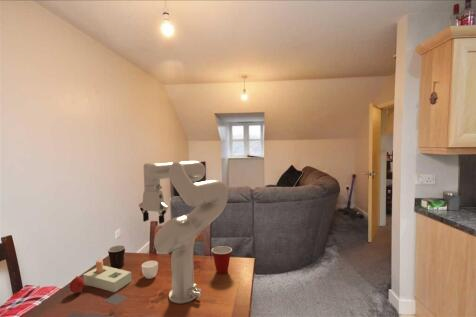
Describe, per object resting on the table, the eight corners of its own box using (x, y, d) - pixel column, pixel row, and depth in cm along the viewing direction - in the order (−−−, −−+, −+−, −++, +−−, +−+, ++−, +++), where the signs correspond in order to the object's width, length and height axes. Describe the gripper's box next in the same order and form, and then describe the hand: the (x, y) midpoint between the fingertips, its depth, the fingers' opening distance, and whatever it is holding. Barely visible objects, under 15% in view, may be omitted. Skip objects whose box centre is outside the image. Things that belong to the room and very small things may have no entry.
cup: (139, 281, 125) (139, 267, 125) (147, 270, 135) (146, 258, 135) (155, 281, 125) (154, 267, 125) (161, 270, 135) (161, 258, 135)
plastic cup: (234, 266, 138) (233, 245, 137) (230, 277, 127) (230, 254, 127) (214, 265, 140) (214, 244, 139) (209, 275, 129) (208, 252, 128)
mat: (128, 298, 112) (128, 297, 112) (117, 306, 106) (116, 305, 106) (114, 294, 115) (114, 293, 115) (103, 301, 109) (103, 301, 109)
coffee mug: (113, 262, 145) (113, 245, 144) (128, 262, 145) (128, 245, 144) (102, 273, 134) (101, 254, 133) (118, 273, 133) (117, 254, 133)
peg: (105, 280, 126) (104, 260, 126) (99, 283, 124) (98, 263, 123) (100, 279, 128) (99, 259, 127) (95, 282, 125) (94, 262, 124)
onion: (68, 298, 112) (66, 280, 112) (72, 290, 118) (71, 274, 117) (83, 295, 114) (82, 278, 113) (86, 288, 119) (85, 272, 119)
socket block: (131, 281, 125) (131, 271, 124) (114, 293, 115) (114, 282, 115) (102, 274, 132) (101, 264, 132) (83, 284, 123) (83, 274, 123)
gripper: (171, 187, 126) (172, 221, 127) (144, 185, 133) (145, 218, 134) (161, 190, 119) (163, 226, 120) (133, 188, 126) (134, 222, 127)
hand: (153, 221), depth 127 cm, fingers open, 9 cm apart
